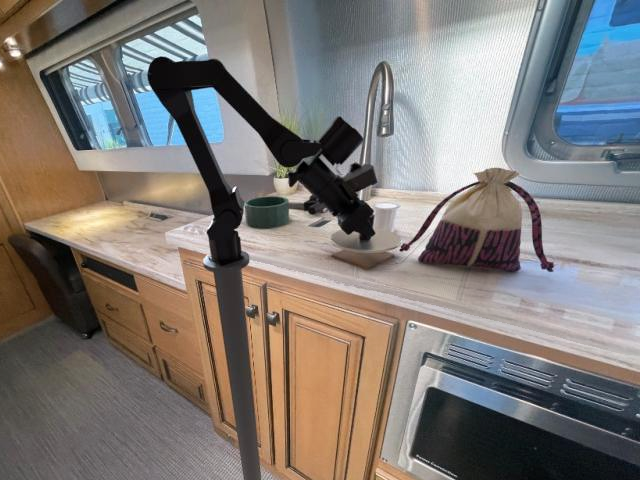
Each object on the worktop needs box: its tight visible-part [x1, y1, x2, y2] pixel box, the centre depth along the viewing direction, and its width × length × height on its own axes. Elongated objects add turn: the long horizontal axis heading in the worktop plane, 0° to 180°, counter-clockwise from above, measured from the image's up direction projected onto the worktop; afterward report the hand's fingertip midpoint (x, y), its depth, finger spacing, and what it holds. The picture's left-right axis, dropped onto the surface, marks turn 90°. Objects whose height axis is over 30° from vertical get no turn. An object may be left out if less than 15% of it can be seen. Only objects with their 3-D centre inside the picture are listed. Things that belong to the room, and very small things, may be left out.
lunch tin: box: [244, 195, 290, 229], centre depth 98 cm, size 14×14×6 cm
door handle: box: [289, 194, 328, 216], centre depth 109 cm, size 3×20×16 cm
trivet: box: [331, 249, 396, 270], centre depth 70 cm, size 10×10×1 cm
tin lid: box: [329, 214, 402, 253], centre depth 67 cm, size 15×15×6 cm
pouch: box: [398, 167, 555, 273], centre depth 58 cm, size 25×8×19 cm, turn 63°
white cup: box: [370, 201, 401, 232], centre depth 81 cm, size 7×7×7 cm
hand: (371, 232), depth 67 cm, fingers closed on tin lid, 3 cm apart
